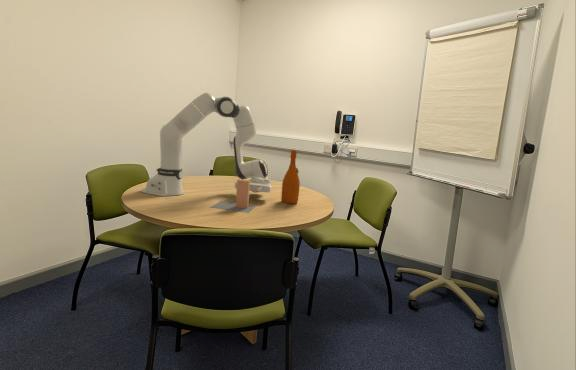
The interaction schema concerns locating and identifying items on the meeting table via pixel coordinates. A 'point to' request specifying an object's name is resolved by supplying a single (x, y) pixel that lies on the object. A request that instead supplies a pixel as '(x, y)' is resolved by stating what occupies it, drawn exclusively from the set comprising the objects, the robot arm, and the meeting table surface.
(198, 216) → the meeting table surface
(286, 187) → the wine bottle
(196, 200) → the meeting table surface
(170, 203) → the meeting table surface
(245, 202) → the tile
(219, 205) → the mat
